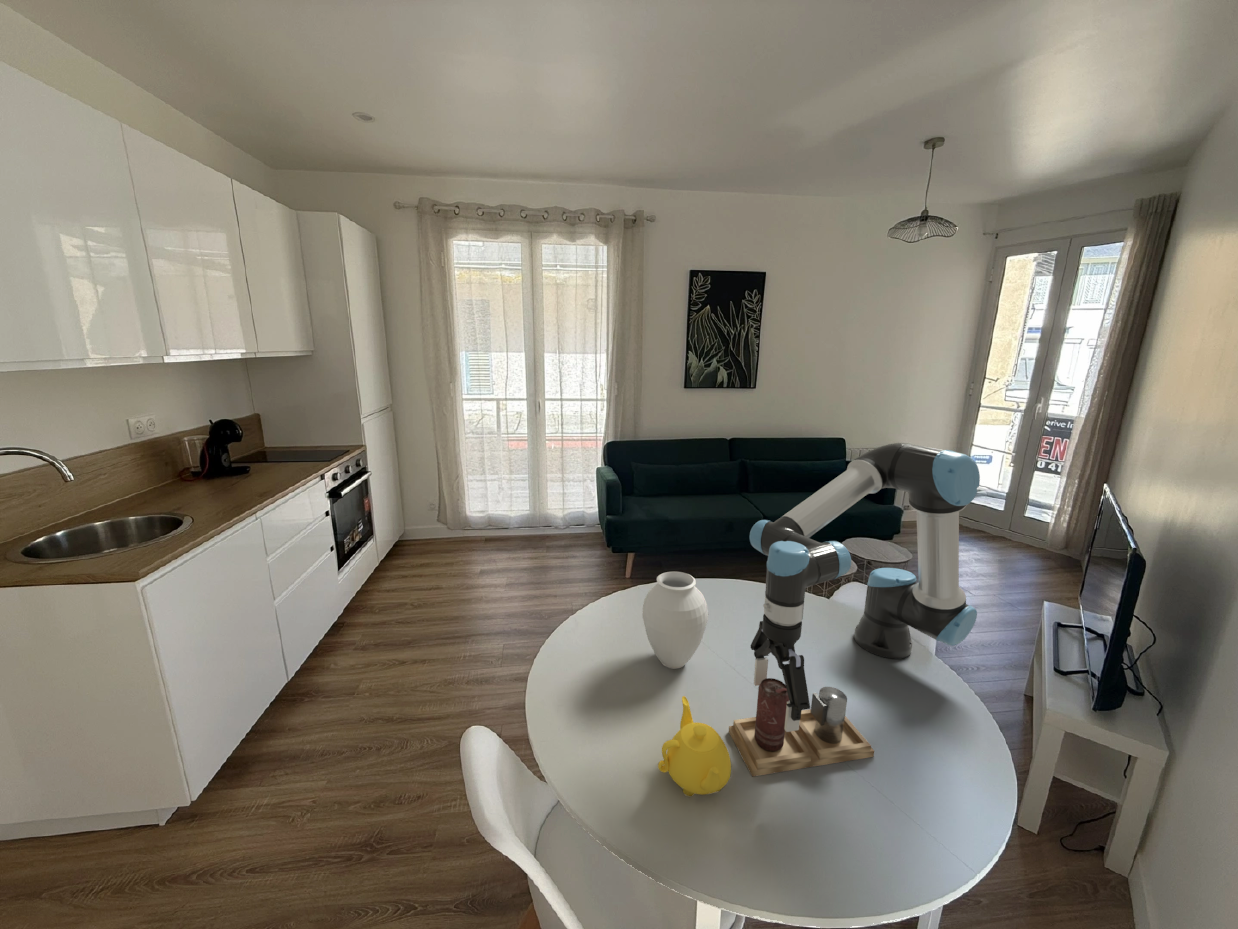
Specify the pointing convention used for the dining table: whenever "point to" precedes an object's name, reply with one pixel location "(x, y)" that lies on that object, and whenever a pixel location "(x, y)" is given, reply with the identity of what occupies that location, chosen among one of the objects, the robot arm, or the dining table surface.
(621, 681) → the dining table surface
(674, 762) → the teapot
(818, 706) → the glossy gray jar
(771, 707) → the can
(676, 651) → the vase
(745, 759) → the tray
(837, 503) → the robot arm
